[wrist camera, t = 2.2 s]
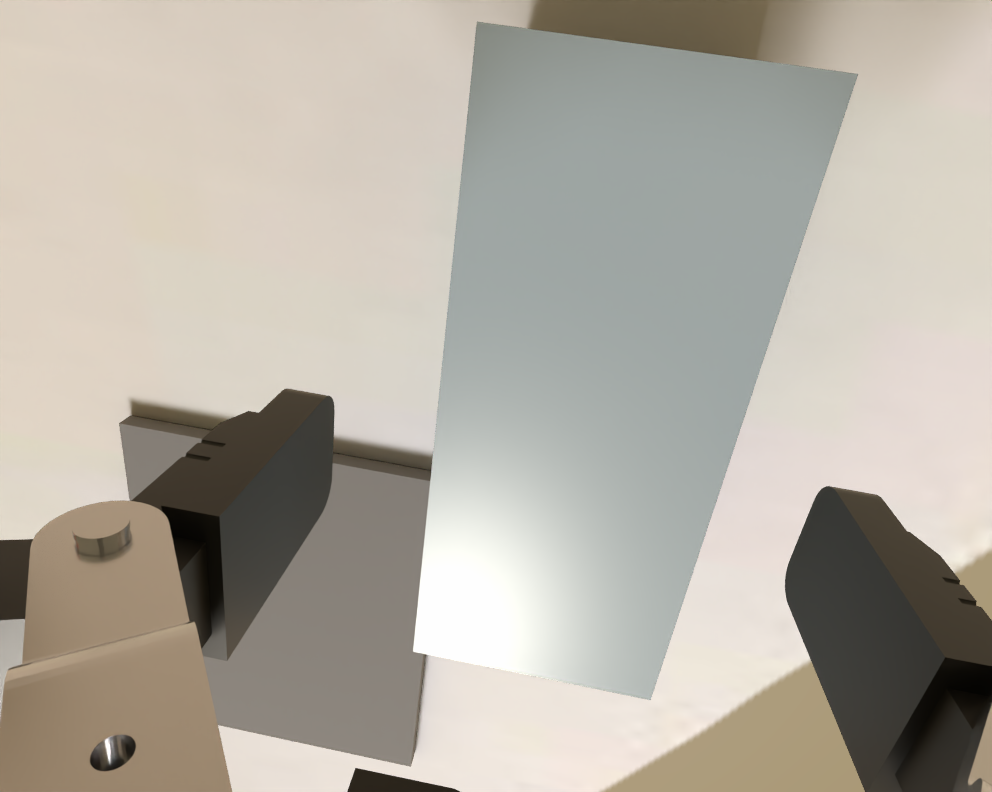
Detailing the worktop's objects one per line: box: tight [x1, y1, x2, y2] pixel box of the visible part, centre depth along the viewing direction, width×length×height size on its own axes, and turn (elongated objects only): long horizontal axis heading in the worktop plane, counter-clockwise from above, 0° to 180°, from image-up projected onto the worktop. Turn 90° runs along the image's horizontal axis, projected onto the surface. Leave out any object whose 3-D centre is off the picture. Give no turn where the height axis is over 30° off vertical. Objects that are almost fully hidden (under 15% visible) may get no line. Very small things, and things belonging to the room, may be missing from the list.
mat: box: [119, 416, 431, 767], centre depth 25 cm, size 14×11×1 cm
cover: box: [413, 22, 858, 700], centre depth 15 cm, size 13×6×7 cm, turn 173°
